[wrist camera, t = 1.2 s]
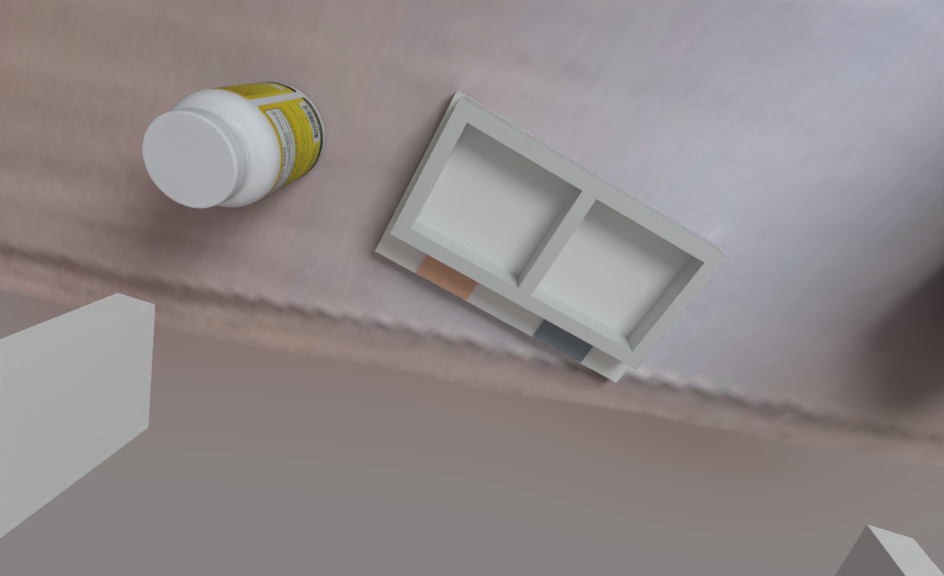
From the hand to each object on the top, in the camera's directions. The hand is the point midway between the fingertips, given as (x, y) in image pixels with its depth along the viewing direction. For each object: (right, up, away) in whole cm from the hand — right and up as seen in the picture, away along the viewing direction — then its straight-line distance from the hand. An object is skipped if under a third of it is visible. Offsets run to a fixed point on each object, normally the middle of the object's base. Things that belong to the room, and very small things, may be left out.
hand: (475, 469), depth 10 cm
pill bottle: (-13, +14, +26) cm, 32 cm away
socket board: (+5, +6, +27) cm, 29 cm away
